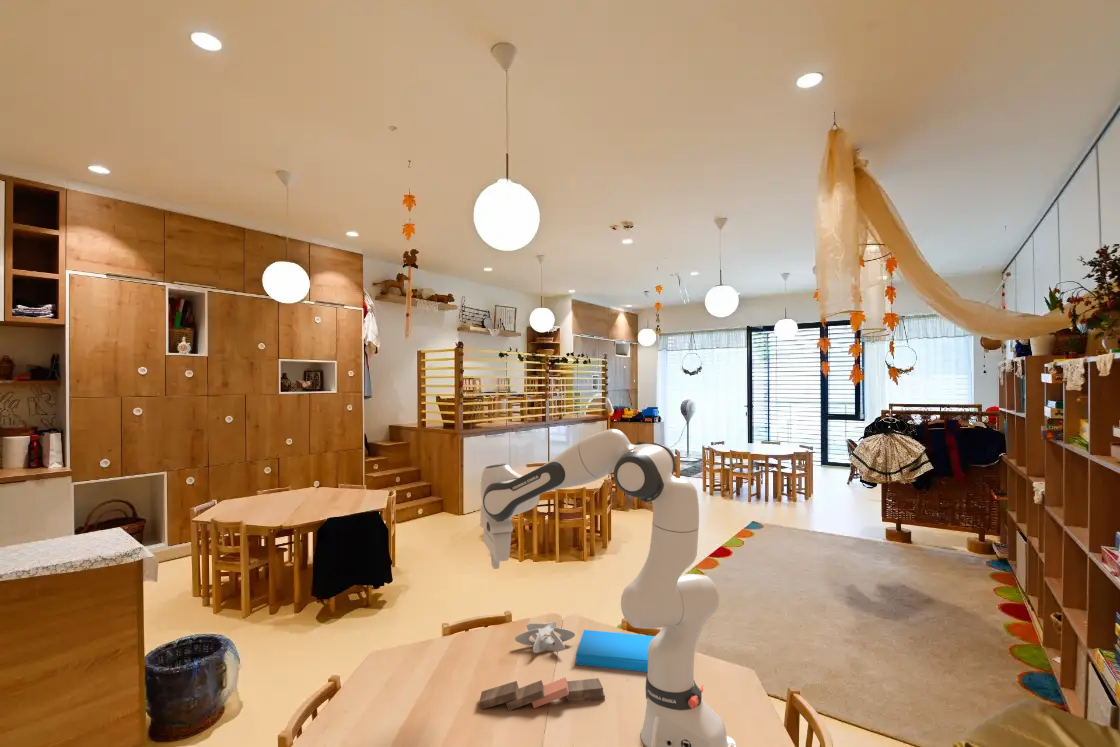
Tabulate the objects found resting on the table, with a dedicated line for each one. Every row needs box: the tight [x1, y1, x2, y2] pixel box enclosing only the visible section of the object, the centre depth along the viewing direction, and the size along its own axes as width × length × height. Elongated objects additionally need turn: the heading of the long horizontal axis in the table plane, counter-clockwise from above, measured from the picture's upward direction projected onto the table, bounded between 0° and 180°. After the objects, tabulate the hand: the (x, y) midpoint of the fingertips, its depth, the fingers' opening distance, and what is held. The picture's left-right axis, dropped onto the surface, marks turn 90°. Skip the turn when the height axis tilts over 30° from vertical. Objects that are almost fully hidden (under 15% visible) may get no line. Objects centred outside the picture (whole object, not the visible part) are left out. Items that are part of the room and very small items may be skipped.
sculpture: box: [514, 621, 576, 654], centre depth 179 cm, size 18×20×6 cm
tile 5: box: [567, 691, 606, 704], centre depth 150 cm, size 2×5×10 cm
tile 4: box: [565, 677, 604, 700], centre depth 150 cm, size 2×5×10 cm
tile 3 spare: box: [531, 677, 569, 709], centre depth 147 cm, size 2×5×10 cm
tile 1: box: [478, 680, 519, 710], centre depth 146 cm, size 2×5×10 cm
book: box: [575, 629, 656, 673], centre depth 172 cm, size 17×4×25 cm
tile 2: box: [505, 679, 545, 712], centre depth 146 cm, size 2×5×10 cm
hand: (495, 567), depth 157 cm, fingers closed
